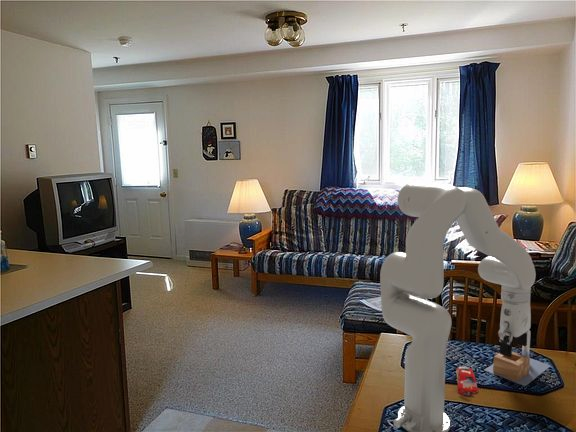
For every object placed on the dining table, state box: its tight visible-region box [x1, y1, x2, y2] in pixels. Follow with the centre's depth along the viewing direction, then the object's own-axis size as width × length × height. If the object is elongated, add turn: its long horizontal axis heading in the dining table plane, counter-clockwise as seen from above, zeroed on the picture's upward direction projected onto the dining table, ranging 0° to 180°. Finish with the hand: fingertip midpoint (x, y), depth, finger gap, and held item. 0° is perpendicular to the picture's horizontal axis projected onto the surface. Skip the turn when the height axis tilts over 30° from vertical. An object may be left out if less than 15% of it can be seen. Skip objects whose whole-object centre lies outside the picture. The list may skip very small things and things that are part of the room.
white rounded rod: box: [521, 329, 532, 357], centre depth 134 cm, size 2×2×11 cm
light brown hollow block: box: [492, 351, 530, 381], centre depth 128 cm, size 7×7×5 cm
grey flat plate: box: [484, 358, 552, 387], centre depth 132 cm, size 18×12×1 cm, turn 128°
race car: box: [455, 366, 479, 398], centre depth 124 cm, size 13×5×4 cm, turn 161°
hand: (513, 349), depth 128 cm, fingers open, 9 cm apart
